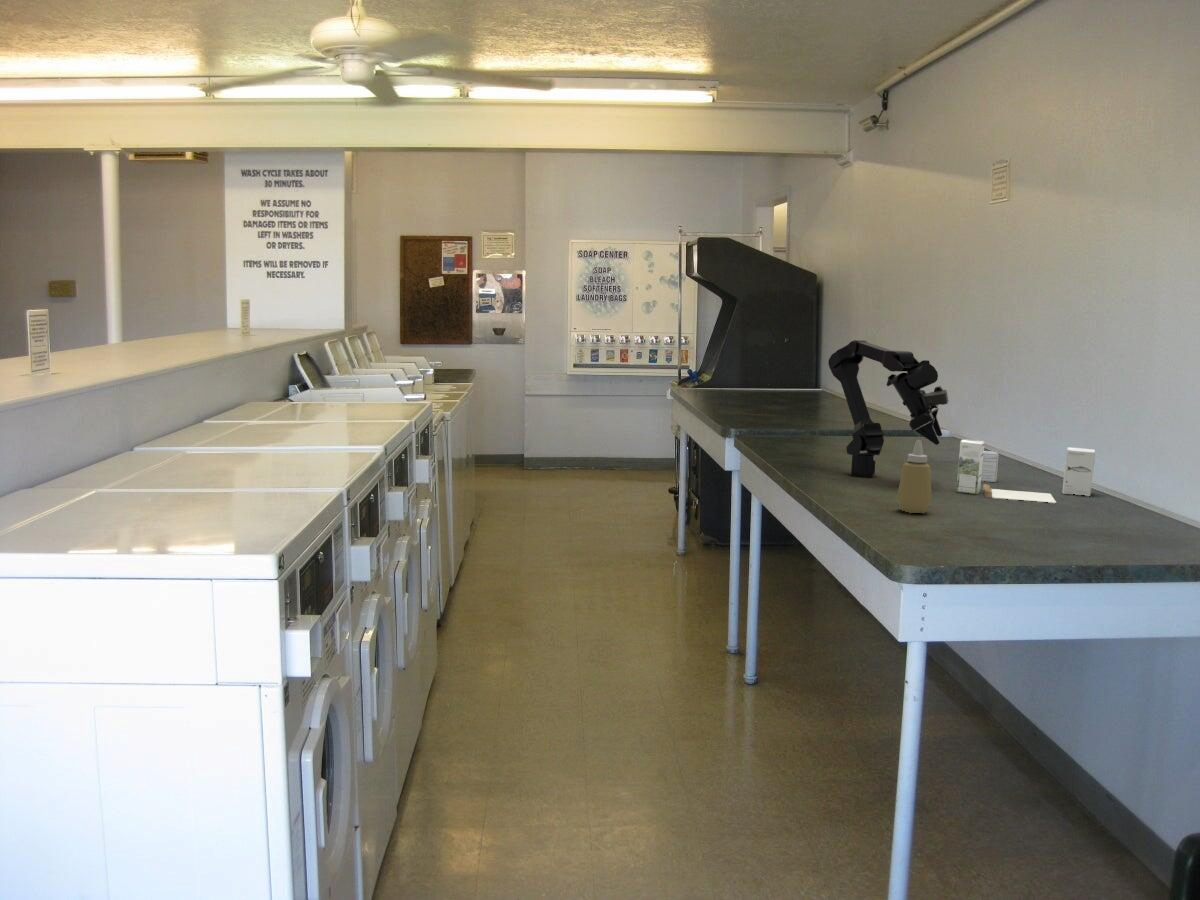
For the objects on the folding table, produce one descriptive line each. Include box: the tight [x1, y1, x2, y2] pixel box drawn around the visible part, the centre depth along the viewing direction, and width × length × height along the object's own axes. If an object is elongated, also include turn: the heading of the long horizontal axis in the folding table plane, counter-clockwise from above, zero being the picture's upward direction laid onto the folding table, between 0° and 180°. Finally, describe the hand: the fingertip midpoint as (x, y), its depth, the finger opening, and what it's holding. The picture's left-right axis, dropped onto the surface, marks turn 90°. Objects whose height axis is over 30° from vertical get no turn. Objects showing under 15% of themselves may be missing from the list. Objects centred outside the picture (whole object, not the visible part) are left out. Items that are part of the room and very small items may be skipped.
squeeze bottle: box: [897, 439, 932, 514], centre depth 268 cm, size 8×8×18 cm
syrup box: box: [955, 438, 985, 495], centre depth 299 cm, size 6×6×14 cm
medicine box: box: [981, 450, 1000, 483], centre depth 320 cm, size 8×4×9 cm, turn 84°
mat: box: [991, 488, 1057, 504], centre depth 297 cm, size 16×14×1 cm
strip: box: [982, 483, 993, 499], centre depth 299 cm, size 2×12×2 cm, turn 164°
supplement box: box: [1061, 446, 1096, 497], centre depth 304 cm, size 7×7×13 cm
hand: (939, 439), depth 305 cm, fingers open, 9 cm apart
